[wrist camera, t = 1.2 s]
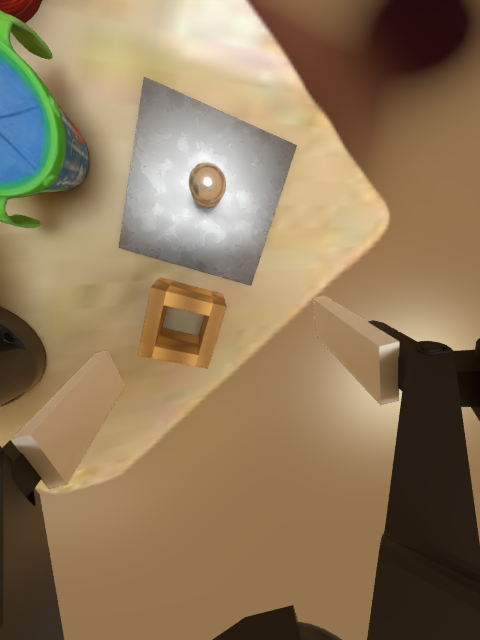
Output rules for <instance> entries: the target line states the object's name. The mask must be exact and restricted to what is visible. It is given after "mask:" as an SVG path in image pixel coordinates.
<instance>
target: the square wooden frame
mask: <svg viewBox="0 0 480 640" xmlns="http://www.w3.org/2000/svg"><path fill="white" fill-rule="evenodd" d="M167 306H169V307H173V308H177V309H182V310H186V311H190V312H194V313H198V314H202V315H205V316H204V320H203V324H202V327H201V331H200V335H199V336H196V335H191V334H187V333H182V332H177V331H173V330H168V329H164V328H162V325H163V321H164V316H165V312H166V307H167ZM225 310H226V304H225V300H224V297H223V294H219V293H215V292H212V291H208V290H204V289H200V288H197V287H193V286H189V285H185V284H182V283H178V282H174V281H170V280H167V279H163V278H159V279H158V280H157V282H156V283H155V284H154V285H153V286H152V287H151V291H150V296H149V301H148V307H147V312H146V317H145V322H144V327H143V332H142V337H141V342H140V347H139V352H138V356H143V357H148V358H154V359H159V360H164V361H170V362H175V363H180V364H185V365H191V366H196V367H201V368H207V369H208V366H209V363H210V360H211V356H212V353H213V350H214V346H215V343H216V340H217V336H218V333H219V330H220V327H221V323H222V320H223V317H224V313H225Z"/></svg>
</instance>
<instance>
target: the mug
mask: <svg viewBox="0 0 480 640" xmlns="http://www.w3.org/2000/svg"><path fill="white" fill-rule="evenodd" d="M41 1H42V0H0V10H1V11H2V12H4V13H6V14H8V15H11V16H13V17H15V18H17V19H19V20H20V21H22V22H24V23H26V22H27V21H28V20H30V19H31V18H32V17H33V16H34V14H35V13H36V12H37V10H38V8H39V6H40V4H41Z"/></svg>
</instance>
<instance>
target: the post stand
mask: <svg viewBox="0 0 480 640" xmlns="http://www.w3.org/2000/svg"><path fill="white" fill-rule="evenodd" d="M296 146H297V145H295V144H293V143H290V142H288V141H286V140H284V139H282V138H279V137H277V136H275V135H273V134H270V133H268V132H266V131H264V130H262V129H259V128H257V127H255V126H253V125H250V124H248V123H246V122H244V121H242V120H239V119H237V118H235V117H233V116H230V115H228V114H226V113H224V112H222V111H219V110H217V109H215V108H213V107H211V106H208V105H206V104H204V103H202V102H199V101H197V100H195V99H193V98H191V97H188V96H186V95H184V94H182V93H179V92H177V91H175V90H173V89H171V88H168V87H166V86H164V85H162V84H159V83H157V82H155V81H153V80H151V79H148V78H146V77H144V80H143V87H142V93H141V100H140V107H139V114H138V121H137V127H136V134H135V141H134V148H133V155H132V161H131V168H130V175H129V182H128V189H127V195H126V202H125V209H124V216H123V223H122V230H121V236H120V243H119V248H121V249H125V250H128V251H132V252H135V253H139V254H143V255H146V256H150V257H153V258H157V259H160V260H164V261H167V262H171V263H174V264H178V265H181V266H185V267H188V268H192V269H195V270H199V271H202V272H206V273H209V274H213V275H216V276H220V277H223V278H227V279H231V280H234V281H238V282H241V283H245V284H248V285H251V284H252V281H253V278H254V275H255V272H256V269H257V266H258V263H259V260H260V257H261V253H262V250H263V247H264V244H265V241H266V238H267V235H268V232H269V229H270V226H271V223H272V220H273V217H274V214H275V211H276V208H277V205H278V201H279V198H280V195H281V192H282V189H283V186H284V183H285V180H286V177H287V174H288V171H289V168H290V165H291V162H292V159H293V156H294V153H295V150H296Z"/></svg>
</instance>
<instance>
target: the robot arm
mask: <svg viewBox="0 0 480 640" xmlns="http://www.w3.org/2000/svg"><path fill="white" fill-rule="evenodd" d="M312 300H313V307H314V315H315V323H316V331H317V338H318V339H319V340H320V341H321V342H322V343H323V344H324V345H325V346H326V347H327V348H328V349H329V350H330V352H331V353H332V354H333V355H334V356H335V357H336V358H337V359H338V360H339V361H340V362H341V363H342V364H343V365H344V367H345V368H346V369H347V370H348V371H349V372H350V373H351V374H352V375H353V376H354V377H355V378H356V379H357V380H358V382H359V383H360V384H361V385H362V386H363V387H364V388H365V389H366V390H367V391H368V392H369V393H370V394H371V395H372V396H373V398H374V399H375V400H376V401H377V402H378V403H379V404H380V405H383V404H387V403H392V402H395V401H399V389H400V390H401V391H402V399H401V407H400V415H399V422H398V430H397V438H396V446H395V454H394V462H393V469H392V478H391V486H390V493H389V501H388V509H387V518H386V524H385V531H384V534H383V535H382V538H381V543H380V549H379V557H378V563H377V571H376V578H375V585H374V593H373V600H372V607H371V615H370V623H369V630H368V637H367V640H480V543H479V536H478V528H477V521H476V514H475V506H474V499H473V491H472V484H471V476H470V469H469V462H468V454H467V447H466V440H465V433H464V425H463V418H462V410H461V407H471V408H472V409H473V411H474V413H475V414H476V416H477V418H478V419H479V421H480V339H478V340H477V342H476V347H475V350H462V351H453V350H452V349H451V348H450V347H448V346H447V345H445V344H442V343H438V342H432V341H420V342H417V341H415V340H413V339H411V338H410V337H408V336H406V335H404V334H403V333H401V332H398V331H397V330H395V329H394V328H391V327H390V326H388V325H386V324H385V323H382V322H378V321H369V322H367V321H365V320H364V319H362V318H360V317H359V316H357V315H355V314H354V313H352V312H351V311H349V310H347V309H346V308H344V307H342V306H340V305H339V304H337V303H336V302H334V301H333V300H331V299H329V298H328V297H326V296H320V297H316V298H312ZM45 363H46V358H45V352H44V348H43V346H42V343H41V341H40V340H39V338H38V336H37V335H36V334H35V332H34V331H33V330H32V329H31V328H30V327H29V326H28V325H27V324H26V323H25V322H24V321H23V320H22V319H20V318H19V317H17V316H16V315H14V314H13V313H11V312H9V311H7V310H5V309H3V308H1V307H0V406H3V405H6V404H9V403H11V402H13V401H15V400H17V399H19V398H20V397H22V396H23V395H24V394H26V393H27V392H28V391H29V390H30V389H31V388H32V387H33V386H34V385H35V384H36V383H37V382H38V381H39V380H40V378H41V377H42V375H43V372H44V369H45ZM124 387H125V385H124V383H123V381H122V379H121V377H120V375H119V372H118V370H117V368H116V366H115V364H114V362H113V360H112V358H111V356H110V354H109V352H108V350H106V351H102V352H98V353H95V354H94V355H93V356H92V357H91V358H90V359H89V360H88V361H87V362H86V363H85V364H84V365H83V366H82V367H81V368H80V369H79V370H78V371H77V372H76V373H75V374H74V375H73V376H72V377H71V378H70V379H69V380H68V381H67V383H66V384H65V385H64V386H63V387H62V388H61V389H60V390H59V391H58V392H57V393H56V394H55V395H54V396H53V397H52V398H51V399H50V400H49V401H48V402H47V403H46V404H45V405H44V406H43V407H42V408H41V409H40V410H39V411H38V412H37V413H36V414H35V415H34V416H33V417H32V418H31V419H30V420H29V421H28V422H27V423H26V424H25V425H24V426H23V427H22V428H21V429H20V430H19V431H18V432H17V433H16V434H15V435H14V436H13V437H12V438H11V439H10V441H9V442H8V443H7V444H6V445H5V446H4V447H3V448H1V446H0V640H64V635H63V630H62V624H61V618H60V612H59V606H58V600H57V594H56V588H55V582H54V576H53V571H52V565H51V559H50V553H49V547H48V541H47V535H46V529H45V524H44V517H43V512H42V506H41V500H40V495H39V493H38V492H37V491H36V489H35V487H36V486H37V484H38V483H39V481H40V480H42V481H43V482H44V483H45V485H46V486H47V487H48V489H51V488H55V487H59V486H63V485H67V484H68V482H69V481H70V479H71V477H72V475H73V474H74V472H75V470H76V469H77V467H78V465H79V464H80V462H81V460H82V458H83V457H84V455H85V453H86V452H87V450H88V448H89V447H90V445H91V443H92V441H93V440H94V438H95V436H96V435H97V433H98V431H99V429H100V428H101V426H102V424H103V423H104V421H105V419H106V418H107V416H108V414H109V412H110V411H111V409H112V407H113V406H114V404H115V402H116V401H117V399H118V397H119V395H120V394H121V392H122V390H123V389H124ZM213 640H342V639H340V638H339V637H337V636H336V635H334V634H332V633H330V632H329V631H327V630H325V629H323V628H320V627H318V626H315V625H312V624H308V623H302V622H298V620H297V616H296V613H295V610H294V607H293V605H292V606H288V607H284V608H280V609H276V610H272V611H268V612H264V613H260V614H256V615H252V616H248V617H245V618H243V619H242V620H240V621H239V622H238V623H236V624H235V625H233V626H232V627H230V628H229V629H227V630H226V631H224V632H223V633H222V634H220V635H219V636H217V637H216V638H214V639H213Z"/></svg>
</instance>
